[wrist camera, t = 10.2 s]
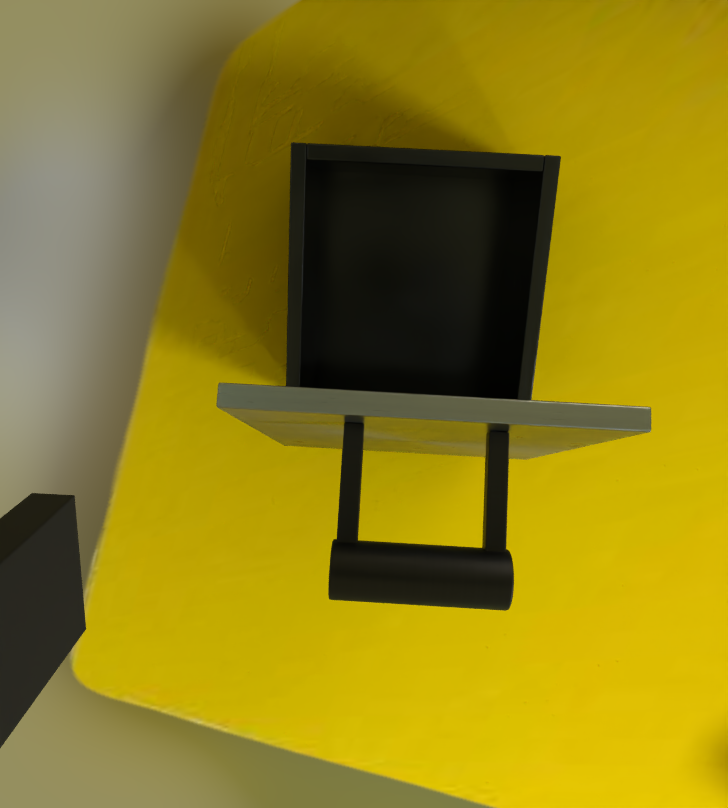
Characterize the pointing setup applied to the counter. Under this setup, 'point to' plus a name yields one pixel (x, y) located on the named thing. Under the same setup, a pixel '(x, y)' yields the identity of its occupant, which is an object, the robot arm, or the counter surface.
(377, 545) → the lid
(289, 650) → the counter surface
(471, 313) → the black hollow box
